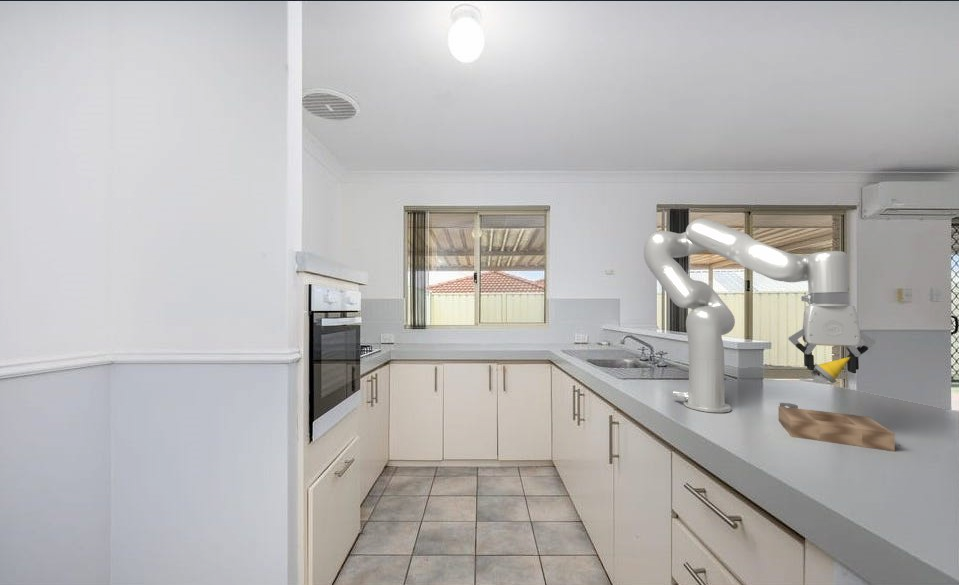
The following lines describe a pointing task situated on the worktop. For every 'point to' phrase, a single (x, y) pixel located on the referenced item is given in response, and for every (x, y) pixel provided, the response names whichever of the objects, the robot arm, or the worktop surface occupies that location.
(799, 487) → the worktop surface
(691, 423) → the worktop surface
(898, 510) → the worktop surface
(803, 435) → the wooden tray
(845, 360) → the yellow cone
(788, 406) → the short pin
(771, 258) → the robot arm
